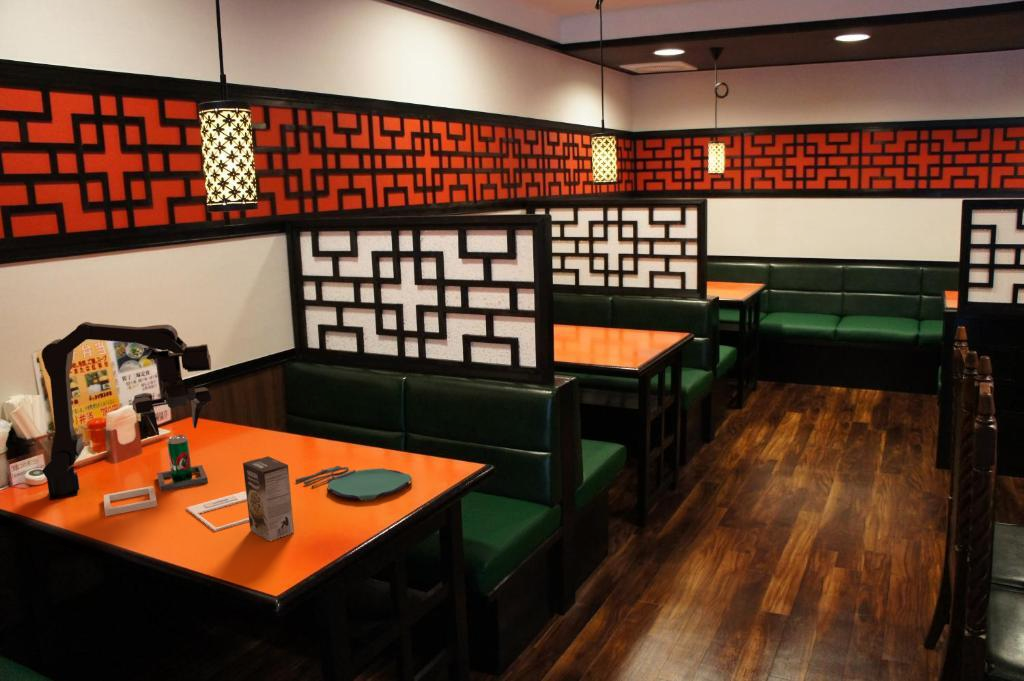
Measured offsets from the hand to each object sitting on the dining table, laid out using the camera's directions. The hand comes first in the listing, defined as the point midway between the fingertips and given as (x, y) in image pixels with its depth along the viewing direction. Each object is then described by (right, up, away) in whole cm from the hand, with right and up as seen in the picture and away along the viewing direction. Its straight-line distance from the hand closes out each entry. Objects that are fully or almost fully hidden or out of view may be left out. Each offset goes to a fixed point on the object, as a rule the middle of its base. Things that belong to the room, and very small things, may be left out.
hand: (176, 431), depth 217 cm
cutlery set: (+48, -13, -6) cm, 51 cm away
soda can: (+1, -13, +2) cm, 13 cm away
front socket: (-6, -16, -13) cm, 22 cm away
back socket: (+1, -13, +1) cm, 13 cm away
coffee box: (+35, -19, -33) cm, 52 cm away
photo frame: (+21, -17, -20) cm, 34 cm away
